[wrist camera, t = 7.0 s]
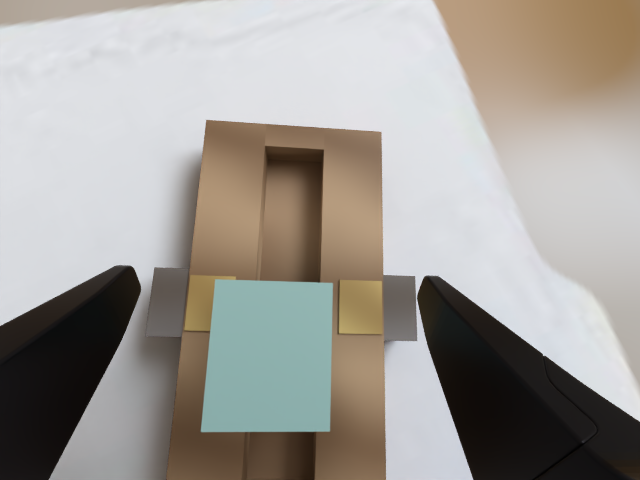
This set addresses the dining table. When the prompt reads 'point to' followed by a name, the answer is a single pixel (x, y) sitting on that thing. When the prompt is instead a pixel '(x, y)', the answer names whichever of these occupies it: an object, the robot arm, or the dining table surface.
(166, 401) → the dining table surface
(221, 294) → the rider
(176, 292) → the slotted wooden block
